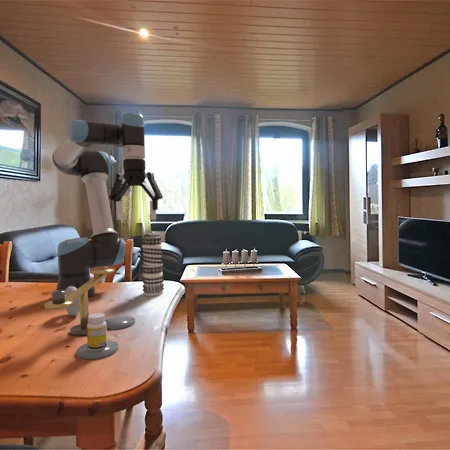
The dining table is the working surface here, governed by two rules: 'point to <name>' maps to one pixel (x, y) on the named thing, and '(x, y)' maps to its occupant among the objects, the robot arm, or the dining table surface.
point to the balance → (82, 294)
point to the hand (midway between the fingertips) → (136, 219)
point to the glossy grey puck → (119, 322)
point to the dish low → (88, 354)
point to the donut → (75, 307)
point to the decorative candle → (152, 264)
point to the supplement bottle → (97, 332)
